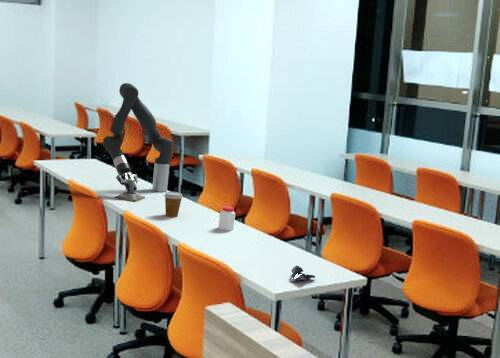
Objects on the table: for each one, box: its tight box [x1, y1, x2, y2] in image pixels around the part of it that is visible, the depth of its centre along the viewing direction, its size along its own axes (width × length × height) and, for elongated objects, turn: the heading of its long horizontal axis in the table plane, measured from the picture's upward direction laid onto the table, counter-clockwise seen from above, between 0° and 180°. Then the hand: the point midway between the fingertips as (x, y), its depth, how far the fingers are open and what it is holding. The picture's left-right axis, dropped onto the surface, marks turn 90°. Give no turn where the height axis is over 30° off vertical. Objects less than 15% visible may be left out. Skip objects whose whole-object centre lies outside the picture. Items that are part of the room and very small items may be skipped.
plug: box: [126, 178, 135, 195], centre depth 371 cm, size 4×4×10 cm
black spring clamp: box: [290, 264, 316, 283], centre depth 257 cm, size 12×6×12 cm
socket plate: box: [114, 190, 146, 203], centre depth 372 cm, size 13×13×3 cm
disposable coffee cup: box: [164, 191, 184, 218], centre depth 340 cm, size 10×10×12 cm
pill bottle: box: [217, 205, 236, 231], centre depth 326 cm, size 8×8×11 cm
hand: (132, 190), depth 370 cm, fingers closed on plug, 4 cm apart
